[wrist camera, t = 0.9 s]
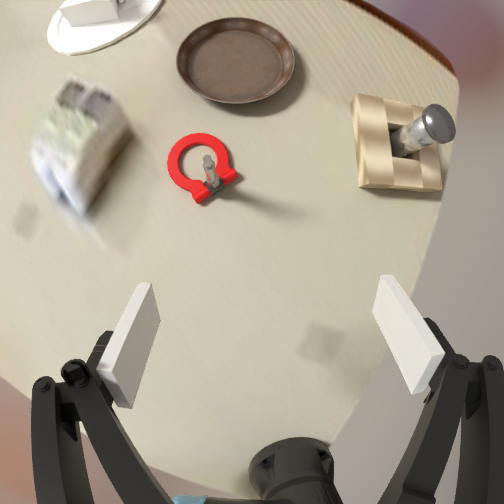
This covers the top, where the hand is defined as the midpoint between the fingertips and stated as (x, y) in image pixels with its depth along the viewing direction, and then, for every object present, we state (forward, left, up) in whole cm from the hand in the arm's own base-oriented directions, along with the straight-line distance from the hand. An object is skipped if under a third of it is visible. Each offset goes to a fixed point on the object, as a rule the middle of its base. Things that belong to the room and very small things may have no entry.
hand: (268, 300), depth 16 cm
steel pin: (+18, -24, -24) cm, 38 cm away
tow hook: (+14, +6, -24) cm, 29 cm away
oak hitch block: (+18, -24, -24) cm, 38 cm away
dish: (+50, +27, -25) cm, 62 cm away
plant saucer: (+31, +1, -25) cm, 39 cm away
